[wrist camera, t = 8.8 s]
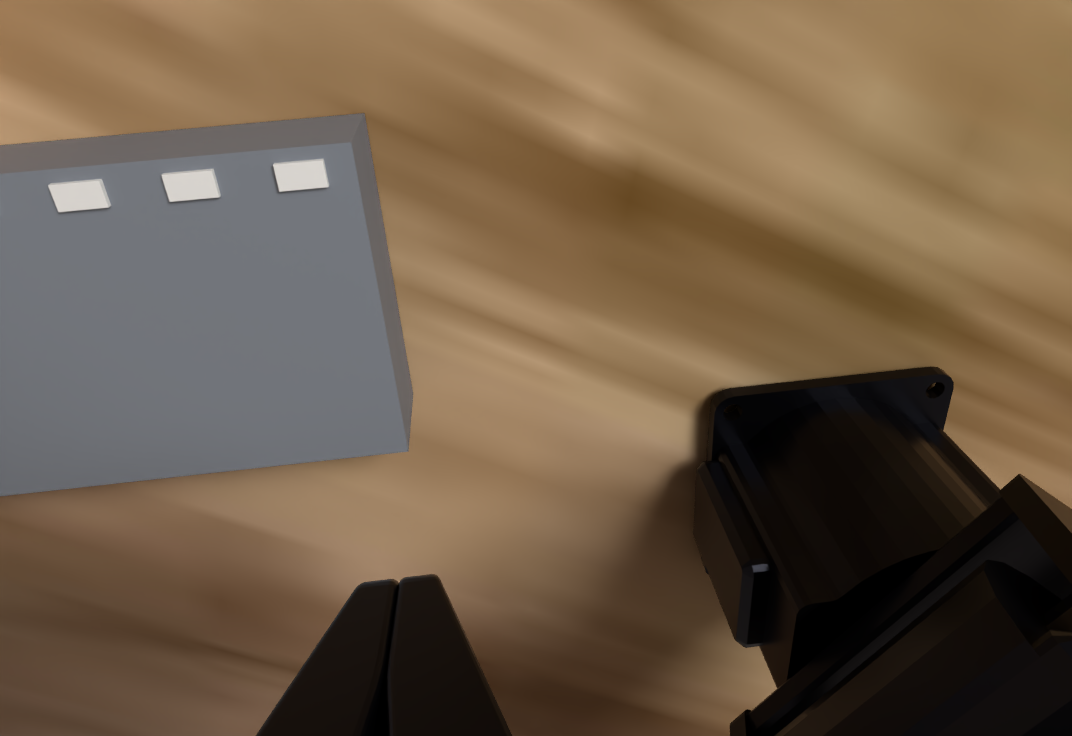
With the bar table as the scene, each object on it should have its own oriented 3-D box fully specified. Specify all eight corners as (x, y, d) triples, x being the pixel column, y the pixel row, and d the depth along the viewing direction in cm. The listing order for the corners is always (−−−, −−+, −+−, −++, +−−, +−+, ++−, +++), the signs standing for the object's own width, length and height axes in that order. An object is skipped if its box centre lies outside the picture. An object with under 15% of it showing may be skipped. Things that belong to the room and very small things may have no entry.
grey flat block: (364, 113, 16) (350, 144, 14) (412, 394, 20) (408, 454, 18) (-333, 174, 16) (-466, 217, 13) (-154, 454, 19) (-235, 525, 17)
